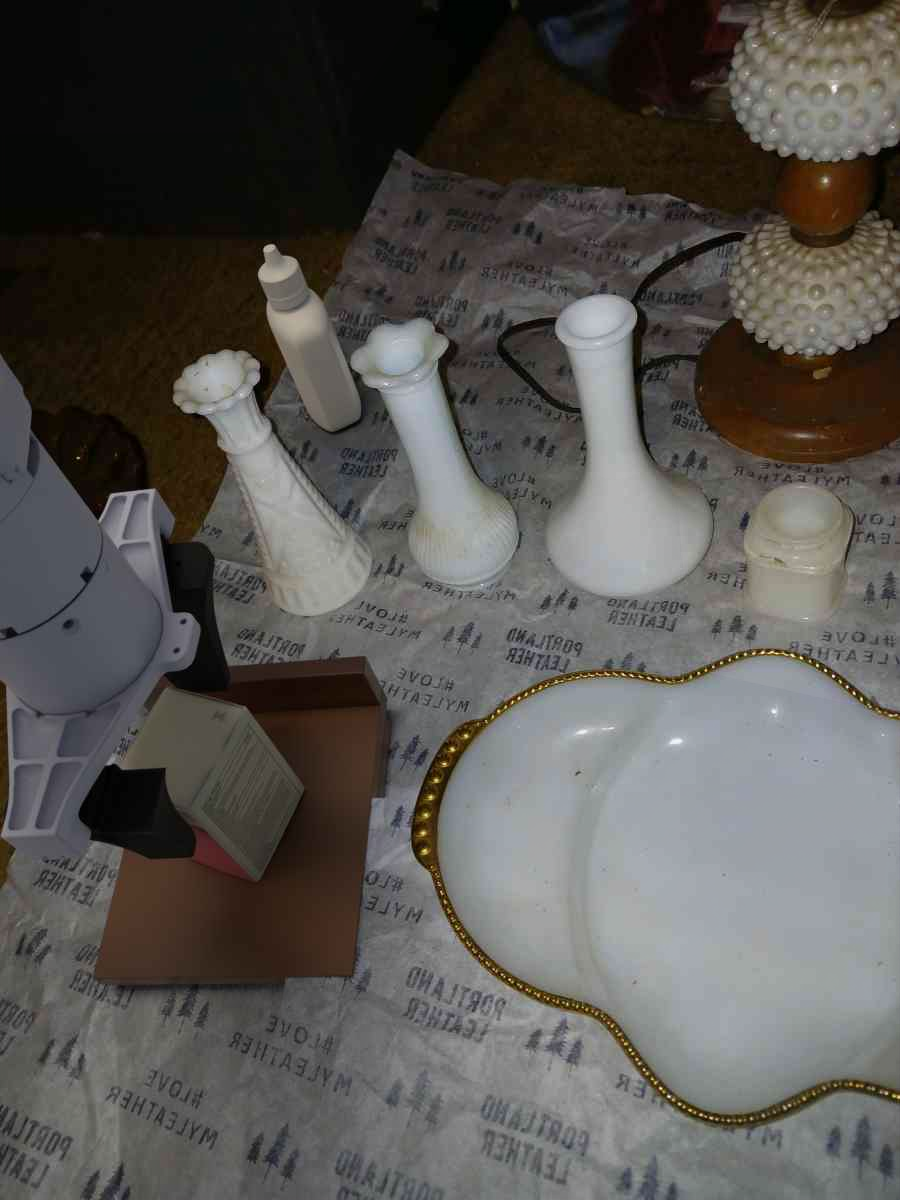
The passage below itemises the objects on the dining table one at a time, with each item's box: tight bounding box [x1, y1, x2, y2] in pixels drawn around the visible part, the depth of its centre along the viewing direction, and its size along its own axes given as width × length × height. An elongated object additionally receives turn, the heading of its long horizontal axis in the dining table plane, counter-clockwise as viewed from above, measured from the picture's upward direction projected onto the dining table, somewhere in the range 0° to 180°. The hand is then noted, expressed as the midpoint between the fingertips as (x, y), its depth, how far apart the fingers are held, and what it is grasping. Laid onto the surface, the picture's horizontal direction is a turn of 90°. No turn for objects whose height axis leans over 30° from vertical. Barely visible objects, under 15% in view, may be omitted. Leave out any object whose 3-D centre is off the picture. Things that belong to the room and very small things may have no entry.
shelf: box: [92, 655, 392, 986], centre depth 50 cm, size 14×12×5 cm
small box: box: [117, 687, 305, 882], centre depth 47 cm, size 5×4×8 cm
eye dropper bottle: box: [257, 243, 362, 433], centre depth 64 cm, size 4×6×12 cm
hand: (191, 763), depth 45 cm, fingers open, 7 cm apart
